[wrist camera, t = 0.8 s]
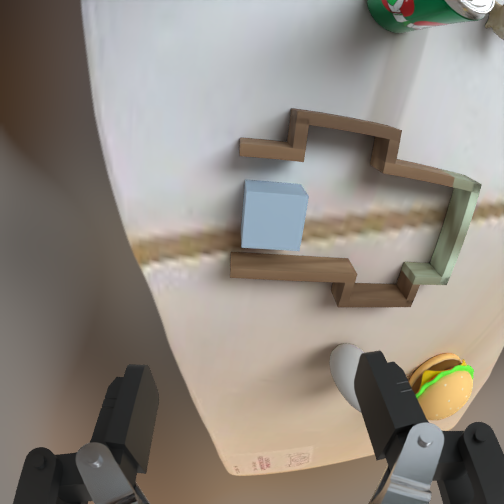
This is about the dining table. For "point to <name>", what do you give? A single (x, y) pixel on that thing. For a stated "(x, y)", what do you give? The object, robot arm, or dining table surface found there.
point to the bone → (496, 20)
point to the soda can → (426, 13)
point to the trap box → (341, 268)
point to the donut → (346, 370)
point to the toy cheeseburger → (442, 385)
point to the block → (273, 215)
